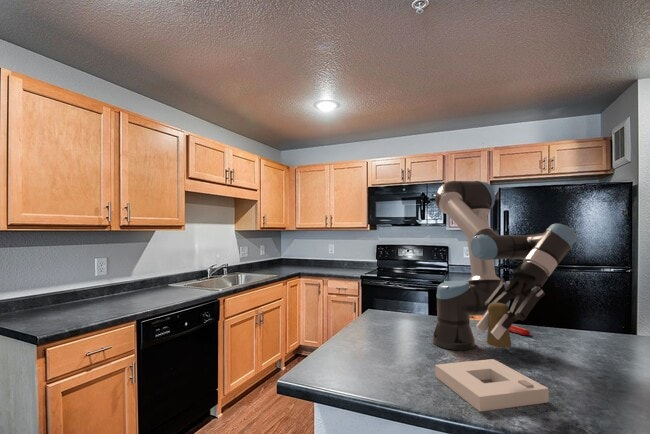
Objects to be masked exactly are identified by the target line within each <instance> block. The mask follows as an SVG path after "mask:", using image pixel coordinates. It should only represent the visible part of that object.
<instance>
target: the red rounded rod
mask: <svg viewBox="0 0 650 434" xmlns="http://www.w3.org/2000/svg"><path fill="white" fill-rule="evenodd" d="M509 332H511V333H515V334H518V335H522V336H527V337H528V336H530V335H531V331H530V330H528V329H527V328H524V327H520V326H517V325H514V324H512V325H511V326H510V328H509Z"/></svg>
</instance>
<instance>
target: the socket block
mask: <svg viewBox="0 0 650 434" xmlns="http://www.w3.org/2000/svg"><path fill="white" fill-rule="evenodd" d="M434 365H435V373H434V374H435V376H434V377H435V378H437V379H438V380H439V381H440V382H442V383H443V384H444V385H446V386H447V387H448V388H449V389H450V390H452V391H453V392H455V394H457V395H458V396H459V397H461V398H462V399H463V400H464V401H466V402H467V403H468V404H469V405H471V406H472V407H473V408H475V409H476V410H477V411H478V412H479V413H480V412H486V411H495V410H502V409H511V408H515V407H524V406H530V405H531V406H532V405H539V404H546V403H549V400H550V399H549V396H550V395H549V388H548V387H547V386H545V385H543V384H541V383H539V382H538V381H536V380H533V379H532V378H529V377H528V376H526V375H524V374H522V373H520V372H518V371H516V370H515V369H513V368H511V367H510V366H507V365H506V364H504V363H501V362H500V361H498V360H497V359H495V358H490V359H481V360H471V361H468V360H467V361H460V362H459V361H457V362H450V363H441V364H434Z"/></svg>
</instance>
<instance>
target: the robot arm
mask: <svg viewBox="0 0 650 434" xmlns="http://www.w3.org/2000/svg"><path fill="white" fill-rule="evenodd" d="M434 200H435V204H436V207H437V208H438V209H439V210H440V212H441V213H442V214H446V215H448V216H449V219H451V220H452V221H453V222H454V223H455V225H456V226H457V227H458V228H459V229H460V230H461V231H462V233H463V234H464V235H465V236H466V238H467V239H466V241H467V248H468V255H469V264H470V265H469V266H470V271H471V277H470V278H469V279H468V280H467V281H465V280H449V281H443V282H441V283H440V284H438V286H437V289H436V311H437V312H436V314H437V316H436V317H437V318H436V319H437V321H436V325H435V327H434V331H433V334H432V343H433V344H434V345H435V346H438V347H439V348H442V349H446V350H447V349H448V350H452V351H453V350H454V351H468V350H473V349H474V348H475V347H476V339H475V337H474V334H473V330H472V327H471V322H470V317H471V316H472V317H473V316H481V318H480V320H479V321H478V323H476V325H475V327H476V329H478V330H479V331H480V332H481V333H483V334H484V333H485V332H486V331H487V330H488V328H489V320H490V314H489V312H488V305H489V304H490V303H503V304H505V305H507V306H508V308H509V306H510V304H511V300H512V299H514V300H513V302H512V304H511V306H510V308H509V311H508V312H507V313H508V315H507V314H504V315H503V317H502V318H501V319H500V320H499V322H498V323H497V324H496V326H495V327H494V328H493V330H492V331H491V333H492V334H493V335H494V336H495V337H496V339H498V340H499V339H500V338H501V336H502V335H503V334H504V332H505V331H506V330H507V329H509V328H510V326H511V325H514V322H516V321H519V320H520V321H521V322H523V321H525V320H526V318H528V316H529V314H530V313H531V311H532V310H533V309H534V307H535V306H536V304H537V303H538V302H539V300H540V299H541V298H543V297H544V296H545V295H546V293H545V292H544V290H543V289H542V287H543V285H544V284H545V283H546V282H547V280H548V279H549V277H550V276H551V275H552V274H553V272H554V270H555V269H556V268H557V267H558V265H559V264H560V263H561V261H562V260H563V259H564V258H565V256H566V255H567V253H568V252H569V251H570V250H571V249H572V248H573V245H574V244H575V242H576V240H577V234H576V232H575V231H574V230H573V229H572V228H570V227H569V226H567V225H565V224H562V223H553V224H550V225H549V226H548V228H546V230H545V231H544V232H542V233H541V232H540V233H536V234H526V235H525V234H522V235H521V234H514V235H513V234H511V235H509V234H508V235H505V234H504V235H503V234H498V233H496V231H494V230H493V229H492V228H491V226H489V218H488V215H489V214H490V213H491V209H492V208H494V205H495V201H496V193H495V190H494V188H493V186H492V185H491V184H490V183H488V182H486V181H479V180H474V181H473V180H450V181H446V182H444V183H442V184H441V186H439V187H438V188H437V190H436V193H435V197H434ZM494 260H522V262H521V263H519V265H518V266H517V268H516V269H515V271H514V273H515V274H514V277H513V278H511V279H510V280H507V281H506V280H505V279H501V278H500V277H498V276H497V274H496V270H495V269H496V268H495V261H494Z"/></svg>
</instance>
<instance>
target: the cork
mask: <svg viewBox="0 0 650 434" xmlns="http://www.w3.org/2000/svg"><path fill="white" fill-rule="evenodd" d="M508 311H510V308H509V307H508V306H507V305H505V304H503V303H490V304H489V305H488V312H489V314H490V320H489V326H488V328H487V335H486V336H487V337H486V344H487V345H490V346H493V347H496V348H505V349H506V348H510V347H512V341H511V335H510V331H509V329H507V330H506V331H505V332H504V334H503V335H502V336H501V338H500V339H499V340H498V339H496V337H495V336H494V335H493V334H492V333H491V331H492V330H493V328H494V327H495V326H496V324H497V323H498V322H499V320H500V319H501V318H502V317H503V315H504V314H507V315H508V313H507V312H508ZM508 316H509V315H508Z"/></svg>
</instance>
